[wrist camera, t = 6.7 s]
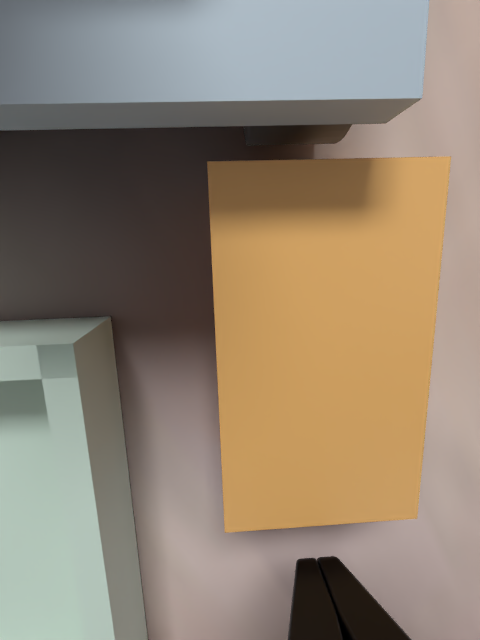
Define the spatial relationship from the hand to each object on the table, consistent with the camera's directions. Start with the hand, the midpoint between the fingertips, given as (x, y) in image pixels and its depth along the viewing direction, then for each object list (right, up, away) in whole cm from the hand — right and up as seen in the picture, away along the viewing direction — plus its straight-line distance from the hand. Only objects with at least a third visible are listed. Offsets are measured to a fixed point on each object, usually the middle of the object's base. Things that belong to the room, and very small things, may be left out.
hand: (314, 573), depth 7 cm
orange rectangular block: (0, +5, +3) cm, 6 cm away
